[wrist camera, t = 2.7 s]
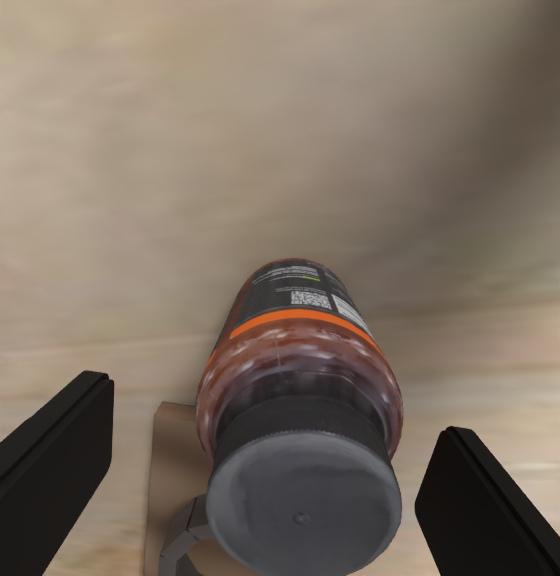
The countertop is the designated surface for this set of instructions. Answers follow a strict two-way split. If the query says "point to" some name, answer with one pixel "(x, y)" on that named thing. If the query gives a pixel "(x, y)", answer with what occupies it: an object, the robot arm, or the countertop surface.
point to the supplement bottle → (299, 428)
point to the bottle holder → (181, 503)
